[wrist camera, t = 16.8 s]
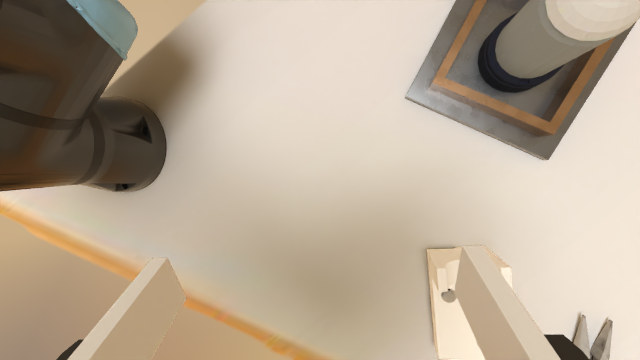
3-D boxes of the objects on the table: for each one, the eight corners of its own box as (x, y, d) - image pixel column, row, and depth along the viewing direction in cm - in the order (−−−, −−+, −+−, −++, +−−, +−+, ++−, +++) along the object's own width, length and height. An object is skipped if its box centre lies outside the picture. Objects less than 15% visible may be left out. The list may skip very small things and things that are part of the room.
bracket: (425, 247, 37) (436, 268, 29) (483, 245, 35) (510, 267, 28) (433, 340, 37) (446, 384, 30) (490, 342, 36) (519, 390, 28)
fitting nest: (405, 98, 36) (407, 91, 32) (478, -41, 33) (489, -65, 30) (543, 159, 33) (562, 159, 29) (636, 13, 30) (668, -6, 27)
